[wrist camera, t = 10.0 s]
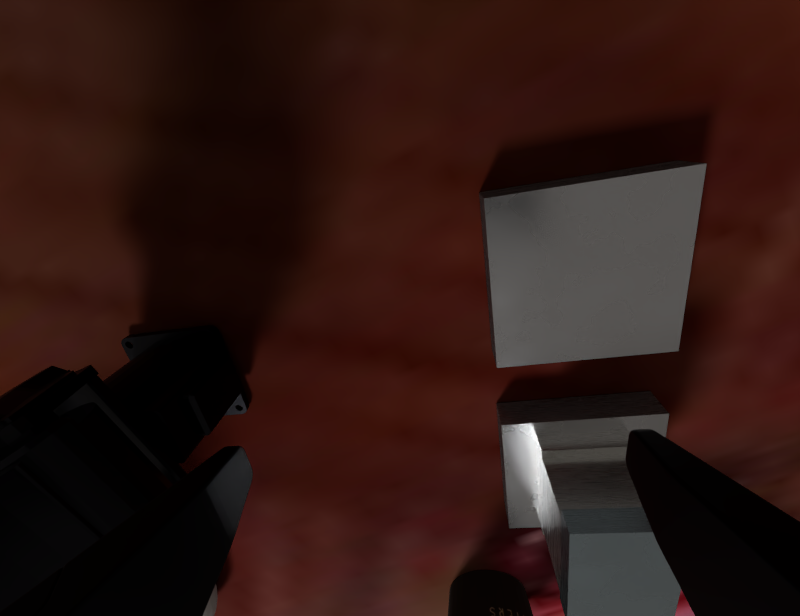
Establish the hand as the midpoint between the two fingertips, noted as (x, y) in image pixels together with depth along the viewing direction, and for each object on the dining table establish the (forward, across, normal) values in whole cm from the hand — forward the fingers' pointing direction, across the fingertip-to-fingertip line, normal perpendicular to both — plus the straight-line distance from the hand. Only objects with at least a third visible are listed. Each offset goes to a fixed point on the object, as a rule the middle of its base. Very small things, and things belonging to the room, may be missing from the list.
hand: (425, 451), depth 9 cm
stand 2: (+13, -8, +13) cm, 20 cm away
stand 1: (+13, -8, 0) cm, 15 cm away
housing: (+11, -8, +13) cm, 19 cm away
